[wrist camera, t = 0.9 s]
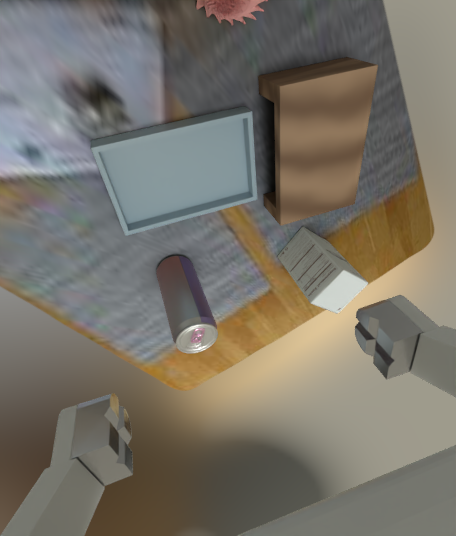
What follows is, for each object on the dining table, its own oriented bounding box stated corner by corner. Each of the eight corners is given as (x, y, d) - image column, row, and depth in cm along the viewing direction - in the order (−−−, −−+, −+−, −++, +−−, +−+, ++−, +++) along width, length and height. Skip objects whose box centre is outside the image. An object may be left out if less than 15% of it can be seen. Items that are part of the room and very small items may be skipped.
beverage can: (195, 254, 53) (224, 322, 42) (188, 282, 56) (212, 352, 45) (159, 252, 51) (179, 324, 40) (153, 282, 54) (170, 356, 43)
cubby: (258, 75, 39) (279, 86, 35) (347, 57, 41) (377, 64, 37) (264, 205, 51) (280, 225, 47) (332, 186, 53) (354, 203, 49)
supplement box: (327, 239, 61) (370, 283, 52) (300, 268, 63) (337, 315, 54) (302, 224, 56) (344, 269, 47) (275, 256, 59) (310, 305, 50)
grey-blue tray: (90, 140, 38) (90, 148, 36) (244, 106, 41) (252, 111, 39) (123, 226, 46) (125, 235, 44) (250, 191, 49) (257, 199, 47)
